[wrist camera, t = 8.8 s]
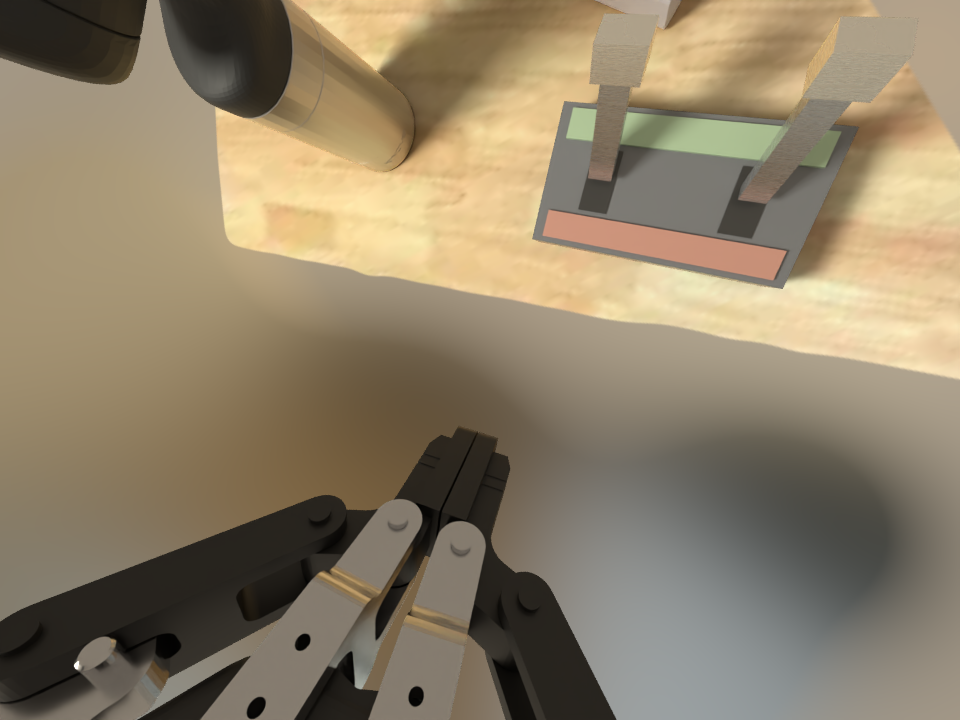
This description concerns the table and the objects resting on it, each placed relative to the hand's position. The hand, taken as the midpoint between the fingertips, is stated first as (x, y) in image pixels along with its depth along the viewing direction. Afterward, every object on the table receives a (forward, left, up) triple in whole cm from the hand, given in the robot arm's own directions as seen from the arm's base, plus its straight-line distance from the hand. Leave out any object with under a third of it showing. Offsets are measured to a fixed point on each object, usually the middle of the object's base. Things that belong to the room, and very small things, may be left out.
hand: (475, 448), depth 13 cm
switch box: (-2, +15, -30) cm, 34 cm away
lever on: (-8, +12, -26) cm, 30 cm away
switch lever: (+3, +18, -26) cm, 32 cm away
